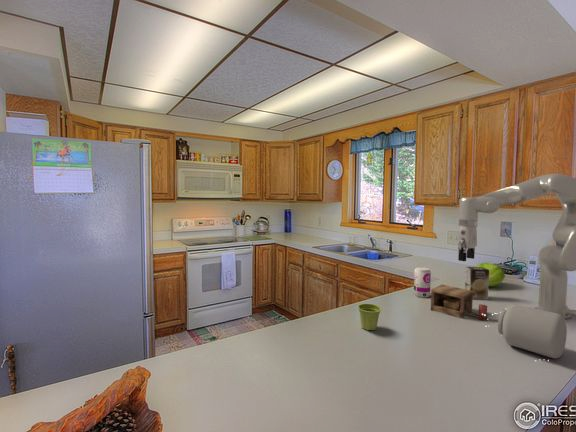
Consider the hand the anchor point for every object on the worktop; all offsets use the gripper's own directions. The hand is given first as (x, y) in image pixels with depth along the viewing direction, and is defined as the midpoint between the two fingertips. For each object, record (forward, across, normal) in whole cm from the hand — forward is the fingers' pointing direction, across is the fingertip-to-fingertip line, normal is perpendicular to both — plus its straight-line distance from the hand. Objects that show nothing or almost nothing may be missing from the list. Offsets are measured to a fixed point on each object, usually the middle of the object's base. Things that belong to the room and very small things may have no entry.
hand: (466, 259), depth 146 cm
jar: (+24, -25, -27) cm, 44 cm away
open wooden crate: (+24, -6, +3) cm, 25 cm away
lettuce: (+24, +52, +6) cm, 57 cm away
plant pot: (+25, -52, +17) cm, 60 cm away
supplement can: (+25, +5, +23) cm, 34 cm away
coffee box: (+24, +24, +3) cm, 34 cm away
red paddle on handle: (+24, -6, -3) cm, 25 cm away
